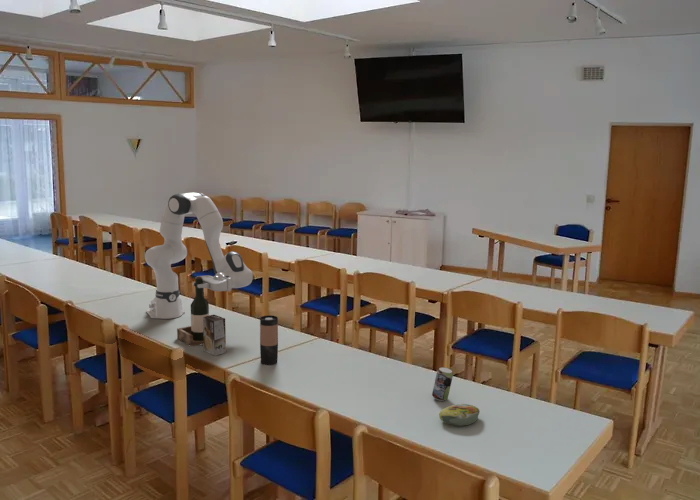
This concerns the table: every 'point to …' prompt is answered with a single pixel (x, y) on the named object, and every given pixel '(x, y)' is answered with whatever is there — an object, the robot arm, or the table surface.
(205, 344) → the coffee box
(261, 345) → the travel mug
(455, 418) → the cell model
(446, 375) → the beverage can
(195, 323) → the wine bottle
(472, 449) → the table surface
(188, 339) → the tray
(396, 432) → the table surface
